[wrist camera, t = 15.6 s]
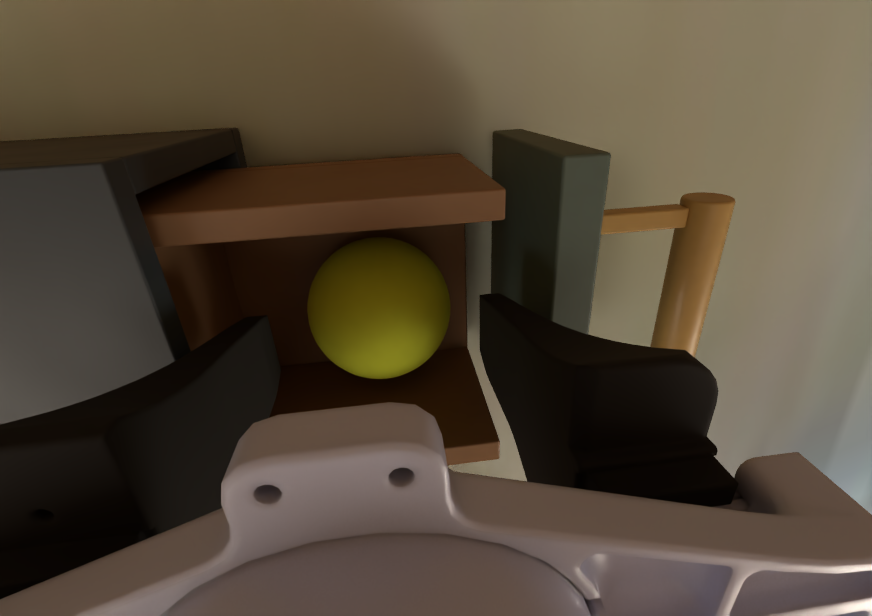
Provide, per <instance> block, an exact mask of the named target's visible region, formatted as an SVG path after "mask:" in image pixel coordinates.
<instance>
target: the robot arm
mask: <svg viewBox="0 0 872 616" xmlns="http://www.w3.org/2000/svg"><path fill="white" fill-rule="evenodd" d="M480 352H481V356H482V359H483V363H484V367H485V370H486V374H487V376H488V378H489V381H490V383H491V385H492V387H493V390H494V392H495V394H496V396H497V399H498V401H499V403H500V405H501V407H502V410H503V412H504V414H505V416H506V419H507V421H508V423H509V425H510V428H511V431H512V433H513V436H514V439H515V442H516V445H517V448H518V452H519V455H520V458H521V461H522V465H523V468H524V471H525V475H526V478H527V482H526V481H519V480H512V479H504V478H497V477H490V476H483V475H475V474H468V473H461V472H454V471H452V470H451V469H449V468H448V465H447V460H446V455H445V449H444V444H443V438H442V434H441V431H440V429H439V427H438V424H437V422H436V419H435V417H434V416H433V415H431V414H429V413H428V412H426V411H425V410H423V409H422V408H420V407H418V406H417V405H414V404H404V403H394V402H387V403H378V404H369V405H360V406H351V407H343V408H334V409H325V410H316V411H307V412H299V413H290V414H281V415H276V416H273V417H270V414H271V411H272V408H273V405H274V402H275V399H276V396H277V391H278V386H279V380H280V374H281V368H280V364H279V360H278V356H277V352H276V348H275V344H274V340H273V336H272V332H271V328H270V324H269V320H268V316H267V315H262V316H251V317H246V318H244V319H242V320H240V321H238V322H236V323H235V324H233V325H231V326H230V327H228V328H227V329H225V330H224V331H222V332H221V333H219V334H218V335H216V336H215V337H213V338H212V339H210V340H209V341H207V342H205V343H204V344H202V345H201V346H199V347H197V348H196V349H194V350H193V351H191V352H189V353H188V354H186V355H184V356H183V357H181V358H179V359H178V360H176V361H174V362H172V363H171V364H169V365H167V366H165V367H163V368H161V369H159V370H157V371H155V372H153V373H151V374H149V375H147V376H145V377H143V378H140V379H138V380H136V381H134V382H131V383H129V384H126V385H124V386H121V387H119V388H117V389H114V390H112V391H109V392H107V393H104V394H102V395H99V396H96V397H93V398H90V399H88V400H85V401H82V402H79V403H76V404H73V405H69V406H66V407H63V408H60V409H57V410H53V411H50V412H46V413H42V414H39V415H35V416H31V417H27V418H23V419H20V420H16V421H12V422H8V423H4V424H0V616H872V515H871V514H870V513H869V512H868V511H866V510H865V509H864V508H863V507H862V506H861V505H859V504H858V503H857V502H856V501H855V500H853V499H852V498H851V497H850V496H849V495H848V494H846V493H845V492H844V491H843V490H842V489H841V488H839V487H838V486H837V485H836V484H835V483H834V482H832V481H831V480H830V479H829V478H828V477H827V476H825V475H824V474H823V473H822V472H821V471H820V470H818V469H817V468H816V467H815V466H814V465H813V464H811V463H810V462H809V461H808V460H807V459H806V458H804V457H803V456H802V455H801V454H800V453H797V452H792V453H785V454H777V455H770V456H762V457H755V458H752V459H748V460H746V461H745V462H744V463H742V464H741V465H740V466H739V468H738V469H737V471H736V474H735V478H733V477H732V476H731V475H730V473H729V472H728V471H727V470H726V469H725V468H724V467H723V466H722V465H721V464H720V463H719V462H718V460H717V459H716V458H715V457H714V455H716V454H717V448H716V446H715V445H714V444H713V443H712V442H711V441H710V440H709V439H708V437H707V433H708V429H709V426H710V423H711V420H712V416H713V413H714V410H715V406H716V403H717V396H718V387H717V382H716V379H715V378H714V376H713V375H712V373H711V371H710V370H709V369H707V368H706V367H705V366H704V365H703V364H702V363H700V362H699V361H698V360H697V359H696V358H694V357H693V356H692V355H691V354H690V353H689V352H687V351H686V350H680V349H668V348H655V347H646V346H639V345H632V344H626V343H621V342H616V341H611V340H607V339H603V338H599V337H595V336H591V335H588V334H585V333H581V332H579V331H576V330H573V329H570V328H567V327H565V326H562V325H560V324H557V323H555V322H553V321H551V320H549V319H547V318H544V317H542V316H540V315H538V314H536V313H535V312H533V311H531V310H529V309H527V308H525V307H524V306H522V305H520V304H518V303H516V302H515V301H513V300H511V299H509V298H508V297H506V296H504V295H502V294H499V293H495V294H484V295H480ZM269 417H270V418H269Z"/></svg>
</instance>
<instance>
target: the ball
mask: <svg viewBox="0 0 872 616" xmlns="http://www.w3.org/2000/svg"><path fill="white" fill-rule="evenodd" d="M307 312H308V320H309V325H310V329H311V332H312V334H313V337H314V339H315V341H316V343H317V344H318V346H319V348H320V349H321V350H322V352H323V353H324V354H325V355H326V356H327V357H328V358H329V359H330V360H331V361H332V362H333V363H334V364H336V365H337V366H338V367H340V368H342V369H343V370H345V371H347V372H349V373H351V374H354V375H357V376H360V377H364V378H370V379H387V378H394V377H398V376H401V375H404V374H406V373H409V372H411V371H413V370H414V369H416V368H418V367H419V366H421V365H422V364H423V363H425V362H426V361H427V360H428V359H429V358H430V357H431V356H432V355H433V354H434V352H435V351H436V350H437V349H438V347H439V346H440V344H441V342H442V340H443V338H444V336H445V334H446V331H447V328H448V324H449V319H450V298H449V292H448V288H447V285H446V283H445V280H444V278H443V276H442V274H441V272H440V271H439V269H438V267H437V266H436V265H435V264H434V262H433V261H432V260H431V259H430V258H429V257H428V256H427V255H426V254H425V253H423V252H422V251H421V250H419V249H418V248H416V247H414V246H412V245H411V244H409V243H406V242H403V241H401V240H397V239H393V238H385V237H372V238H365V239H361V240H357V241H354V242H352V243H349V244H347V245H345V246H343V247H342V248H340V249H338V250H337V251H336V252H335V253H333V254H332V255H331V256H330V257H329V258H328V259H327V260H326V261H325V262H324V263H323V264H322V266H321V267H320V269H319V270H318V272H317V274H316V276H315V278H314V279H313V281H312V284H311V287H310V291H309V297H308V302H307Z"/></svg>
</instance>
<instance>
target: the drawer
mask: <svg viewBox="0 0 872 616" xmlns="http://www.w3.org/2000/svg"><path fill="white" fill-rule="evenodd" d="M610 158H611V155H610V153H608V152H605V151H601V150H598V149H594V148H590V147H586V146H583V145H579V144H575V143H571V142H568V141H564V140H560V139H556V138H553V137H549V136H545V135H541V134H538V133H534V132H530V131H526V130H523V129H515V130H499V131H493V151H492V178H491V177H489V176H488V175H487V174H485V173H484V172H483V171H482V170H480V169H479V168H478V167H476V166H475V165H474V164H473V163H471V162H470V161H469V160H467V159H466V158H465V157H463V156H462V155H461V154H459V153H458V154H443V155H428V156H413V157H398V158H383V159H368V160H353V161H338V162H323V163H308V164H293V165H278V166H263V167H248V168H233V169H218V170H203V171H190V172H188V173H185V174H183V175H181V176H178V177H176V178H174V179H171V180H169V181H166V182H164V183H162V184H159V185H157V186H155V187H152V188H150V189H147V190H145V191H143V192H140V193H138V194H136V198H137V201H138V204H139V207H140V210H141V212H142V215H143V218H144V221H145V224H146V226H147V229H148V232H149V235H150V238H151V240H152V243H153V246H154V249H155V252H156V254H157V257H158V260H159V263H160V266H161V268H162V271H163V274H164V277H165V280H166V282H167V285H168V288H169V291H170V294H171V296H172V299H173V302H174V305H175V308H176V310H177V313H178V316H179V319H180V322H181V325H182V327H183V330H184V333H185V336H186V339H187V341H188V344H189V347H190V350H191V351H193V350H194V349H196V348H197V347H199V346H201V345H202V344H204V343H205V342H207V341H209V340H210V339H212V338H213V337H215V336H216V335H218V334H219V333H221V332H222V331H224V330H225V329H227V328H228V327H230V326H231V325H233V324H235V323H236V322H238V321H240V320H242V319H244V318H246V317H251V316H262V315H267V316H268V320H269V324H270V328H271V332H272V336H273V340H274V344H275V348H276V352H277V356H278V360H279V364H280V368H281V374H280V380H279V386H278V391H277V396H276V399H275V402H274V405H273V408H272V411H271V414H270V417H273V416H276V415H281V414H290V413H299V412H307V411H316V410H325V409H334V408H343V407H351V406H360V405H369V404H378V403H387V402H394V403H404V404H414V405H417V406H418V407H420V408H422V409H423V410H425V411H426V412H428V413H429V414H431V415H433V416H434V417H435V419H436V422H437V424H438V427H439V429H440V431H441V434H442V438H443V444H444V449H445V455H446V460H447V465H454V464H462V463H470V462H478V461H486V460H494V459H499V455H500V441H499V438H498V435H497V432H496V429H495V426H494V423H493V420H492V418H491V415H490V412H489V409H488V406H487V403H486V400H485V397H484V394H483V391H482V388H481V385H480V383H479V380H478V377H477V374H476V371H475V368H474V365H473V362H472V359H471V356H470V353H469V350H468V348H467V302H466V248H465V223H472V222H484V221H492V253H491V294H495V293H499V294H502V295H504V296H506V297H508V298H509V299H511V300H513V301H515V302H516V303H518V304H520V305H522V306H524V307H525V308H527V309H529V310H531V311H533V312H535V313H536V314H538V315H540V316H542V317H544V318H547V319H549V320H551V321H553V322H555V323H557V324H560V325H562V326H565V327H567V328H570V329H573V330H576V331H579V332H581V333H585V334H588V332H589V324H590V316H591V308H592V300H593V292H594V284H595V276H596V268H597V261H598V253H599V245H600V237H601V234H613V233H625V232H637V231H648V230H660V229H672V228H675V229H674V234H673V239H672V244H671V249H670V254H669V259H668V264H667V269H666V273H665V278H664V283H663V288H662V293H661V298H660V303H659V308H658V313H657V318H656V322H655V327H654V332H653V337H652V342H651V347H655V348H668V349H680V350H686V351H687V352H689V353H690V354H691V355H692V356H693V357H694V358H695V354H696V351H697V347H698V343H699V339H700V335H701V331H702V328H703V324H704V320H705V316H706V312H707V309H708V305H709V301H710V297H711V293H712V289H713V286H714V282H715V278H716V274H717V270H718V266H719V263H720V259H721V255H722V251H723V247H724V244H725V240H726V236H727V232H728V228H729V224H730V221H731V217H732V213H733V209H734V205H735V199H734V198H733V197H730V196H727V195H723V194H717V193H689V194H685V195H683V196H682V197H681V200H680V205H679V204H671V205H659V206H646V207H634V208H621V209H608V210H604V205H605V197H606V189H607V182H608V174H609V166H610ZM372 237H385V238H393V239H397V240H401V241H403V242H406V243H409V244H411V245H412V246H414V247H416V248H418V249H419V250H421V251H422V252H423V253H425V254H426V255H427V256H428V257H429V258H430V259H431V260H432V261H433V262H434V264H435V265H436V266H437V267H438V269H439V271H440V272H441V274H442V276H443V278H444V280H445V283H446V285H447V288H448V292H449V298H450V319H449V324H448V328H447V331H446V334H445V336H444V338H443V340H442V342H441V344H440V346H439V347H438V349H437V350H436V351H435V352H434V354H433V355H432V356H431V357H430V358H429V359H428V360H427V361H426V362H425V363H423V364H422V365H421V366H419V367H418V368H416V369H414V370H413V371H411V372H409V373H406V374H404V375H401V376H398V377H394V378H387V379H370V378H364V377H360V376H357V375H354V374H351V373H349V372H347V371H345V370H343V369H342V368H340V367H338V366H337V365H336V364H334V363H333V362H332V361H331V360H330V359H329V358H328V357H327V356H326V355H325V354H324V353H323V352H322V350H321V349H320V348H319V346H318V344H317V343H316V341H315V339H314V337H313V334H312V332H311V329H310V325H309V320H308V312H307V302H308V297H309V291H310V287H311V284H312V281H313V279H314V278H315V276H316V274H317V272H318V270H319V269H320V267H321V266H322V264H323V263H324V262H325V261H326V260H327V259H328V258H329V257H330V256H331V255H332V254H333V253H335V252H336V251H337V250H338V249H340V248H342V247H343V246H345V245H347V244H349V243H352V242H354V241H357V240H361V239H365V238H372ZM270 417H269V418H270Z"/></svg>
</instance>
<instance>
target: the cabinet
mask: <svg viewBox="0 0 872 616" xmlns="http://www.w3.org/2000/svg"><path fill="white" fill-rule="evenodd" d="M233 168H247V165H246V161H245V156H244V152H243V148H242V144H241V139H240V135H239V131H238V128H221V129H204V130H187V131H170V132H153V133H136V134H119V135H103V136H86V137H69V138H52V139H35V140H18V141H1V142H0V424H4V423H8V422H12V421H16V420H20V419H23V418H27V417H31V416H35V415H39V414H42V413H46V412H50V411H53V410H57V409H60V408H63V407H66V406H69V405H73V404H76V403H79V402H82V401H85V400H88V399H90V398H93V397H96V396H99V395H102V394H104V393H107V392H109V391H112V390H114V389H117V388H119V387H121V386H124V385H126V384H129V383H131V382H134V381H136V380H138V379H140V378H143V377H145V376H147V375H149V374H151V373H153V372H155V371H157V370H159V369H161V368H163V367H165V366H167V365H169V364H171V363H172V362H174V361H176V360H178V359H179V358H181V357H183V356H184V355H186V354H188V353H189V352H191V350H190V347H189V344H188V341H187V339H186V336H185V333H184V330H183V327H182V325H181V322H180V319H179V316H178V313H177V310H176V308H175V305H174V302H173V299H172V296H171V294H170V291H169V288H168V285H167V282H166V280H165V277H164V274H163V271H162V268H161V266H160V263H159V260H158V257H157V254H156V252H155V249H154V246H153V243H152V240H151V238H150V235H149V232H148V229H147V226H146V224H145V221H144V218H143V215H142V212H141V210H140V207H139V204H138V201H137V198H136V194H138V193H140V192H143V191H145V190H147V189H150V188H152V187H155V186H157V185H159V184H162V183H164V182H166V181H169V180H171V179H174V178H176V177H178V176H181V175H183V174H185V173H188V172H190V171H203V170H218V169H233Z"/></svg>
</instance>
